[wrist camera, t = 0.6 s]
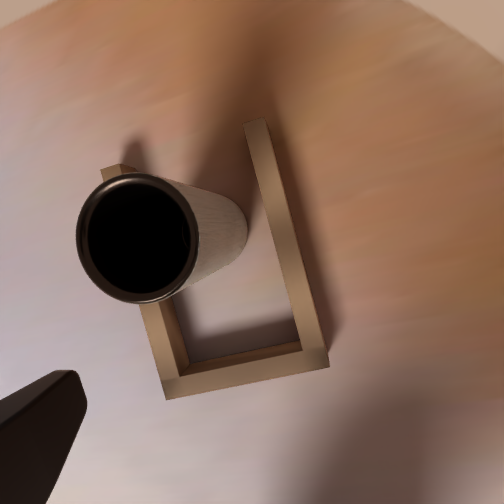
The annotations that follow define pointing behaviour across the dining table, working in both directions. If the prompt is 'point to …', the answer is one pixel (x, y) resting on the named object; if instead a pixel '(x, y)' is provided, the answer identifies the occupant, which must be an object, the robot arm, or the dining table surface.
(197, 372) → the tan u-shaped frame
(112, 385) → the dining table surface
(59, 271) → the dining table surface
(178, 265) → the planter
